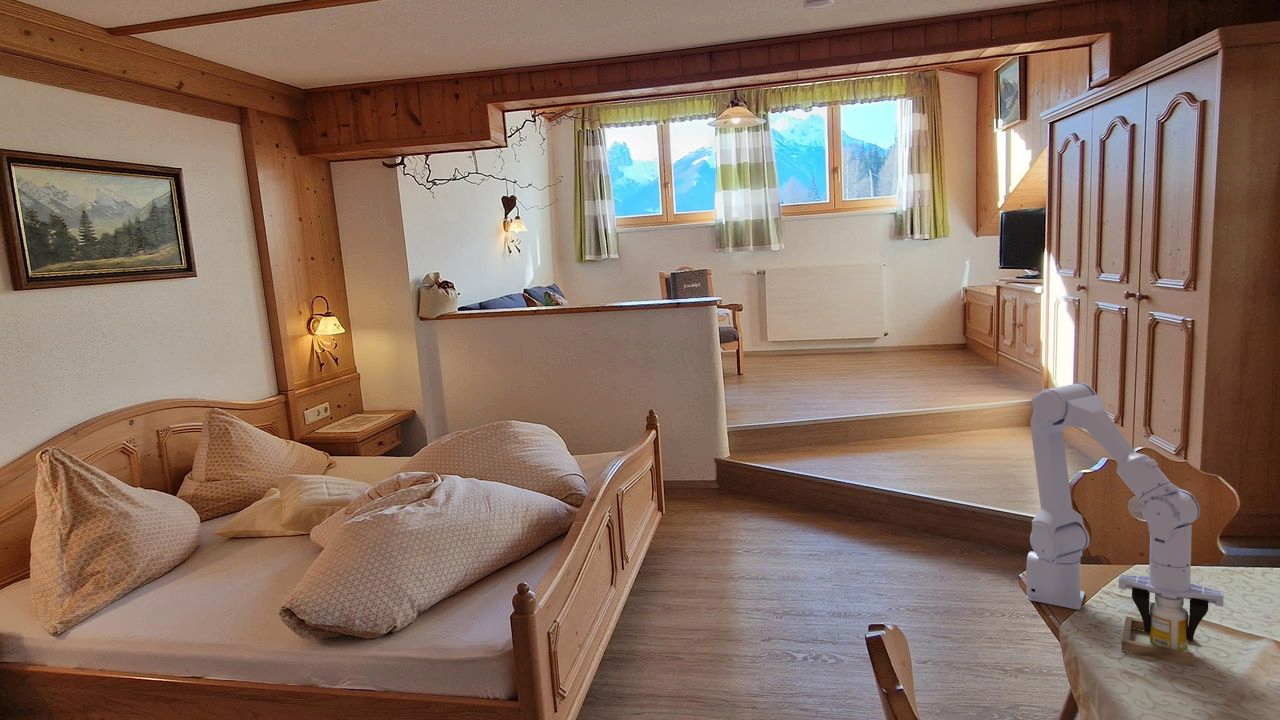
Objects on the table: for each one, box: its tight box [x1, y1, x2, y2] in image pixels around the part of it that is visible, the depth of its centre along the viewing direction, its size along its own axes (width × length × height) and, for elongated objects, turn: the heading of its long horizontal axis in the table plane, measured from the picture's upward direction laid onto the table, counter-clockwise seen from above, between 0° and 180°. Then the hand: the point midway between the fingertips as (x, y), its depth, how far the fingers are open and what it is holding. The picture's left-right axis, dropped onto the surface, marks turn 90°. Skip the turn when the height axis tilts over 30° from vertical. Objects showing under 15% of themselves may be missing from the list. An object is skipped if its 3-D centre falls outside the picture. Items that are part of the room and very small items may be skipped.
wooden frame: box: [1121, 615, 1195, 667], centre depth 126 cm, size 10×10×2 cm
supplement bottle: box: [1149, 593, 1189, 652], centre depth 125 cm, size 5×5×10 cm
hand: (1168, 634), depth 125 cm, fingers closed on supplement bottle, 5 cm apart
